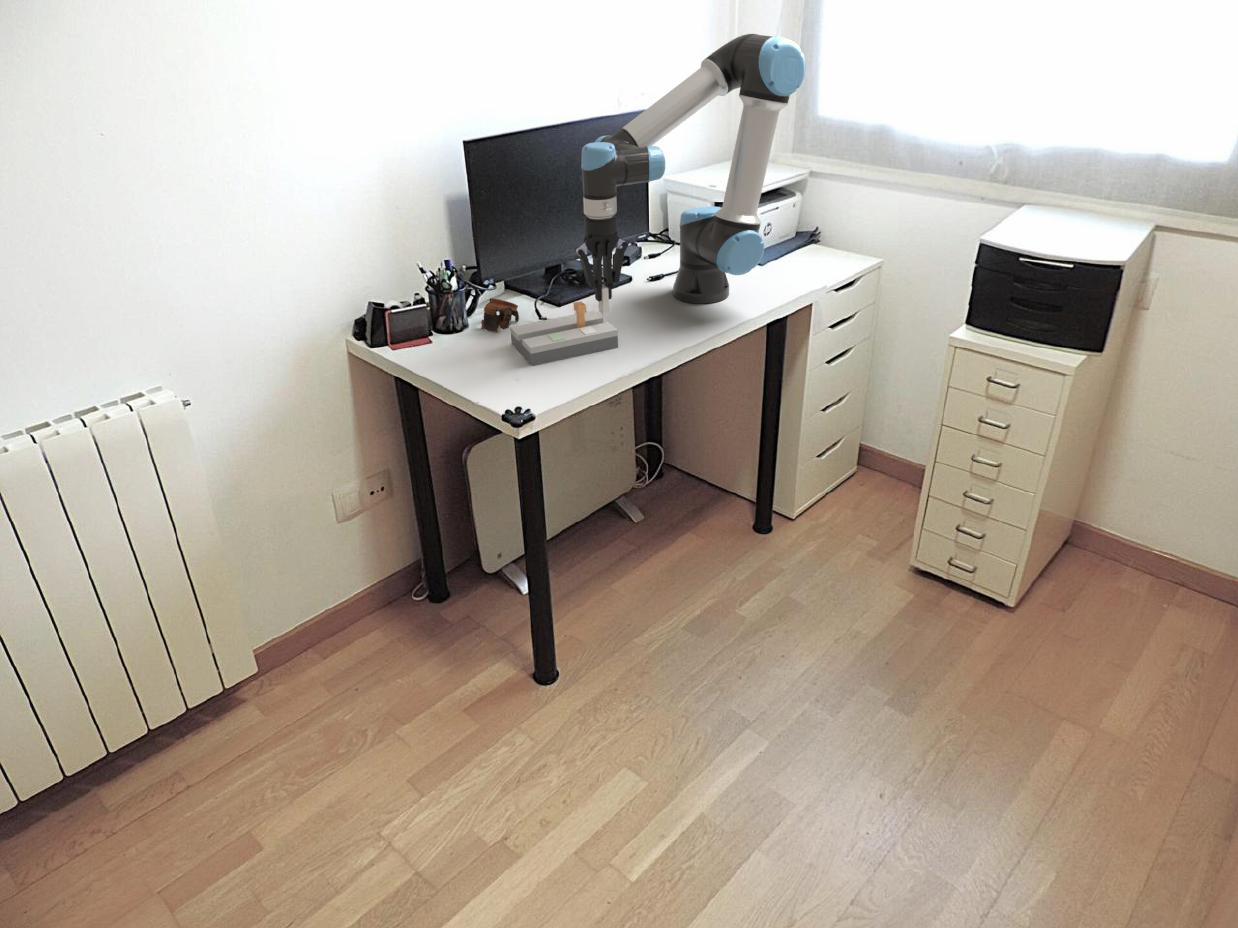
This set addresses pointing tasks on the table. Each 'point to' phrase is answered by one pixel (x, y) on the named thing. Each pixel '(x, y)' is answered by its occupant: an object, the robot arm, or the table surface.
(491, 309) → the brown arched block
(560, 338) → the box
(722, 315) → the table surface
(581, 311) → the breaker handle
